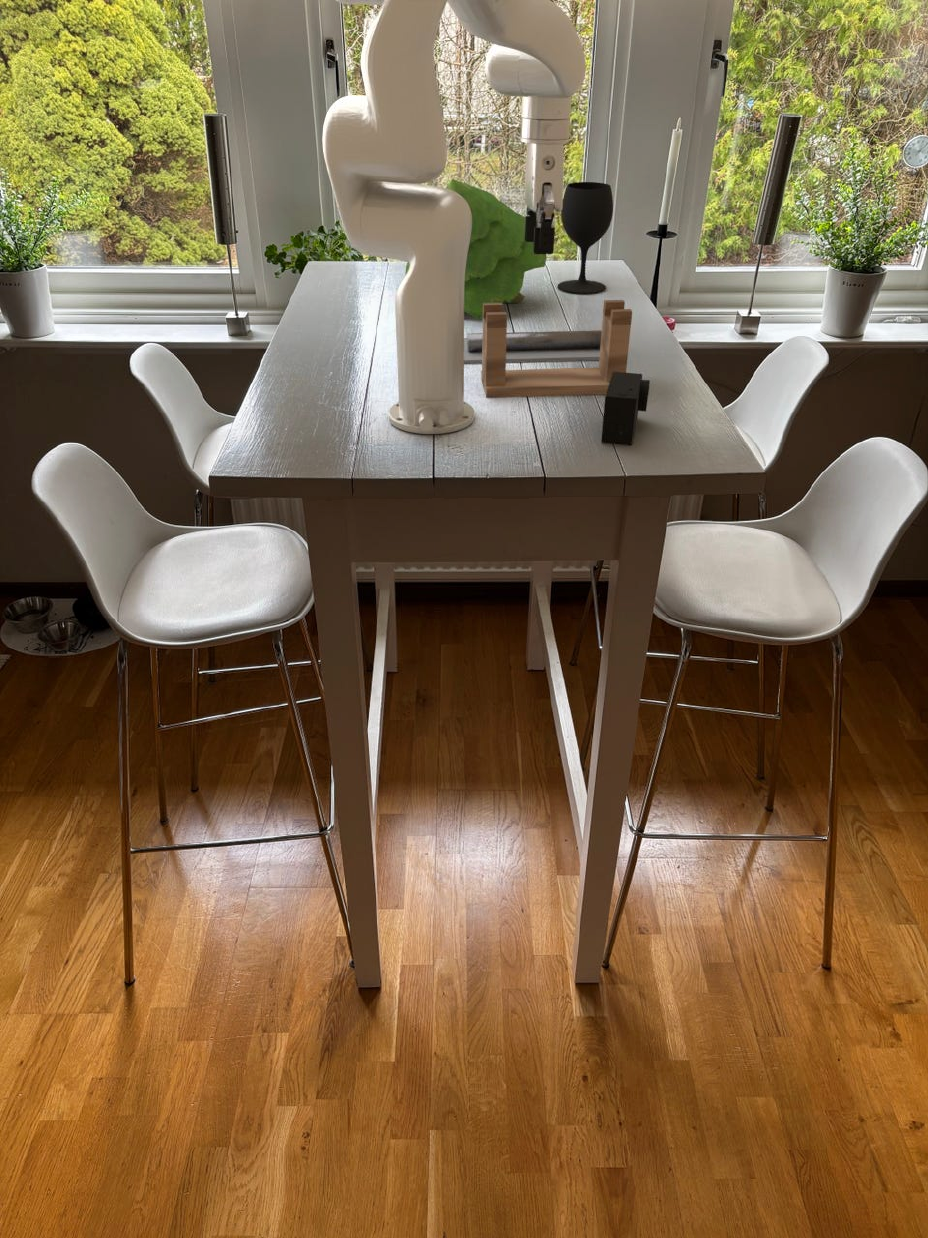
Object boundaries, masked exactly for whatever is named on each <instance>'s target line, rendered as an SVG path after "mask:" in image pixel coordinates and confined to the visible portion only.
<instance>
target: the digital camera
mask: <svg viewBox="0 0 928 1238" xmlns="http://www.w3.org/2000/svg"><path fill="white" fill-rule="evenodd" d="M650 384H651V383H650V379H643V374H642V373H634V372H626V373H625V372H613V373H612V376H611V379H610V383H609V386H608V389H607V393H606V394H605V396H604V404H603V405H604V407H603V408H604V409H603V418H602V419H603V420H602V430H601V439H600V440H601V441H600V442H601V444H610V445H619V446H632V445H633V441H634V436H635V431H636V427H637V423H638V417H639V416H638V415H639V412H644V413H646V412H647V406H648V401H649V392H650V391H649V390H650Z"/></svg>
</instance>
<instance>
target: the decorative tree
mask: <svg viewBox="0 0 928 1238" xmlns="http://www.w3.org/2000/svg"><path fill="white" fill-rule="evenodd" d="M445 188H447V189H450V190H452V191H454V192H456V193H458V194H459V195H461V196H462V197H463V198H464V199H465V201H466V202H467V203H468V205H469V208H470V210H471V214H472V231H471V238H470V243H469V249H468V255H467V261H466V270H465V284H464V313H466V314H468V315H470V316H471V317H474V318H476V319H478V320H480V319H481V318H483V303H502V304H505V302H506V303H507V304H515V303H519V302H523V301H524V300H525V296H524V295H523V294H522V293H521V292H520V291H521V289H523V286H524V277H525V272H528V271H532V270H534V269H539V268H544V267H545V266H546V262H547V258H548V257H547V254H534V252H533V246H534V242H526V241H525V219H526V216H524V215H522V214H520V213H518V212H516V211H514V210H513V209H512V208H511V207H509V206H508V205H506V204H505V203H503V202H502V201H501V200H500V199H498V197H496V196H495V195H494V194H493V193H491V192H489V191H486V190H485V189H481V188H479V187H477V186H476V187H475V186H474V185H471V184H467V183H465V182H462V181H459V180H458V179H457V180H456V179H453V178H451V180H450V181H449V183H448V184H447V186H446V187H445ZM409 267H410V263H409V262H406V266H405V273H404V276H405V275H406V274H407V272H408V270H409Z"/></svg>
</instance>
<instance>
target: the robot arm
mask: <svg viewBox="0 0 928 1238" xmlns="http://www.w3.org/2000/svg"><path fill="white" fill-rule="evenodd" d="M335 1H336V2H338V3H340V4H344V5H352V6H354V5H355V6H356V5H358V6H359V5H361V6H363V5H365V6H366V5H367V6H370V5H371V6H380V7H379V9H378V12H377V13H376V15H375V17H374V20H373V22H372V24H371V25H370V28H369V29H368V32H367V34H366V37H365V39H364V42H363V46H362V48H361V55H360V69H361V75H362V80H363V86H364V91H365V94H364V95H363V94H352V95H345V96H343V97H341V98H338V100H336V101H334V102H333V104H332V105H331V106H330V107H329V109H328V111H327V113H326V115H325V118H324V123H323V127H322V150H323V158H324V161H325V166H326V170H327V174H328V177H329V182H330V184H331V188H332V193H333V196H334V200H335V204H336V206H337V211H338V213H339V218H340V221H341V224H342V227H343V230H344V231H343V232H344V233H345V236H346V238H347V240H348V242H349V245H351V246H352V248H354V249H355V250H356V251H357V252H359V253H360V254H363V255H366V256H370V257H376V258H381V259H390V260H397V261H400V262H405V263H408V262H409V263H410V267H409V270H408V272H407V274H406V275H405V274H404V276H403V278H402V280H401V281H400V283H399V285H398V287H397V288H396V293H395V301H394V307H395V308H394V309H395V311H394V313H395V330H396V331H395V333H396V335H395V337H396V359H397V361H396V362H397V364H396V365H397V387H398V402H396V403H395V404H393V405H392V406H391V407H390V408H389V410H388V420H389V423H391V425H393V426H394V427H395V428H397V429H400V430H402V431H404V432H408V433H413V434H418V435H419V434H420V435H442V434H449V433H454V432H458V431H460V430H463V429H465V428H467V427H468V426H470V425H471V424H473V422H474V420H475V409H474V408H473V406H472V405H471V404H469V403H468V402H466V401H464V400H465V367H464V366H465V364H464V338H465V311H464V284H465V270H466V261H467V255H468V249H469V243H470V238H471V231H472V214H471V210H470V208H469V205H468V203H467V202H466V201H465V199H464V198H463V197H462V196H461V195H459V194H458V193H456V192H454V191H452V190H450V189H447V188H446V187H442V186H437V185H430V184H428V183H431V182H433V181H435V180H436V179H439V177H440V176H441V175H442V174H443V172H444V170H445V168H446V165H447V160H448V146H447V136H446V129H445V124H444V119H443V118H444V117H443V110H442V105H441V99H440V94H439V88H438V87H439V86H438V82H437V75H436V68H435V59H434V57H435V56H434V54H435V53H434V52H435V42H436V37H437V32H438V29H439V25H440V22H441V19H442V16H443V13H444V10H445V8H446V5H447V4H448V5H449V7H450V8H451V9H452V11H453V13H454V14H455V16H456V18H457V19H458V21H459V22H460V24H461V25H462V27H463V28H464V29H465V30H466V32H468V33H469V34H470V35H472V36H475V37H476V38H478V39H481V40H483V41H485V42H488V43H491V44H492V45H491V47H489V50H488V51H487V54H486V56H485V63H484V72H485V77H486V80H487V82H488V84H489V86H490V87H491V88H492V89H493V91H495V92H496V93H498V94H500V95H502V96H503V95H504V96H508V97H520V98H521V115H520V116H521V118H520V120H521V121H520V138H519V141H520V142H522V143H525V144H526V155H525V156H526V157H525V171H524V173H525V174H524V201H525V202H524V203H525V204H526V212H525V213H526V215H525V217H526V219H525V241H526V242H534V246H533V252H534V254H546V255H553V254H554V251H555V249H554V248H555V246H554V245H555V233H556V231H555V230H556V227H555V226H556V222H555V221H556V220H555V213H561V210H562V205H563V197H564V170H565V169H564V168H565V167H564V164H565V162H564V161H565V160H564V159H565V158H564V154H565V153H564V144H567V143H569V142H570V141H569V139H570V125H571V124H570V123H571V108H572V96H574V95H575V94H576V93H577V92H578V91H579V90H580V89H581V87H582V84H583V82H584V79H585V74H586V57H585V51H584V48H583V45H582V44H583V43H582V41H581V40H580V37H579V34H578V32H577V30H576V28H575V25H574V23H573V22H572V20H571V19H570V16H568V14H567V13H566V12H565V11H564V10H563V9H562V8H560V6H558V4H556V3H555V2H553V1H551V0H335Z"/></svg>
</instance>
